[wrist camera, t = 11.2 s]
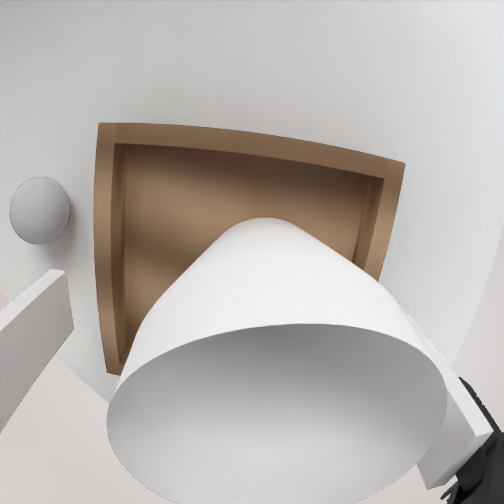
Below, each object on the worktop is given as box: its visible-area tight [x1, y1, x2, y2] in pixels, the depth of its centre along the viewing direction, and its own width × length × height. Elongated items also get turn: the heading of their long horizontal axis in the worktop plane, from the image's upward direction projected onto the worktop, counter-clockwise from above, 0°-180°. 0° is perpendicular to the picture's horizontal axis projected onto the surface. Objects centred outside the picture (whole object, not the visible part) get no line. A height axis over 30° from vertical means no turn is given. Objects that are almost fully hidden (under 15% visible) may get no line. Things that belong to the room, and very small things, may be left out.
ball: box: [10, 177, 70, 244], centre depth 15 cm, size 4×4×4 cm
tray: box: [94, 123, 405, 376], centre depth 17 cm, size 15×15×3 cm
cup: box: [107, 218, 447, 504], centre depth 12 cm, size 9×9×12 cm
